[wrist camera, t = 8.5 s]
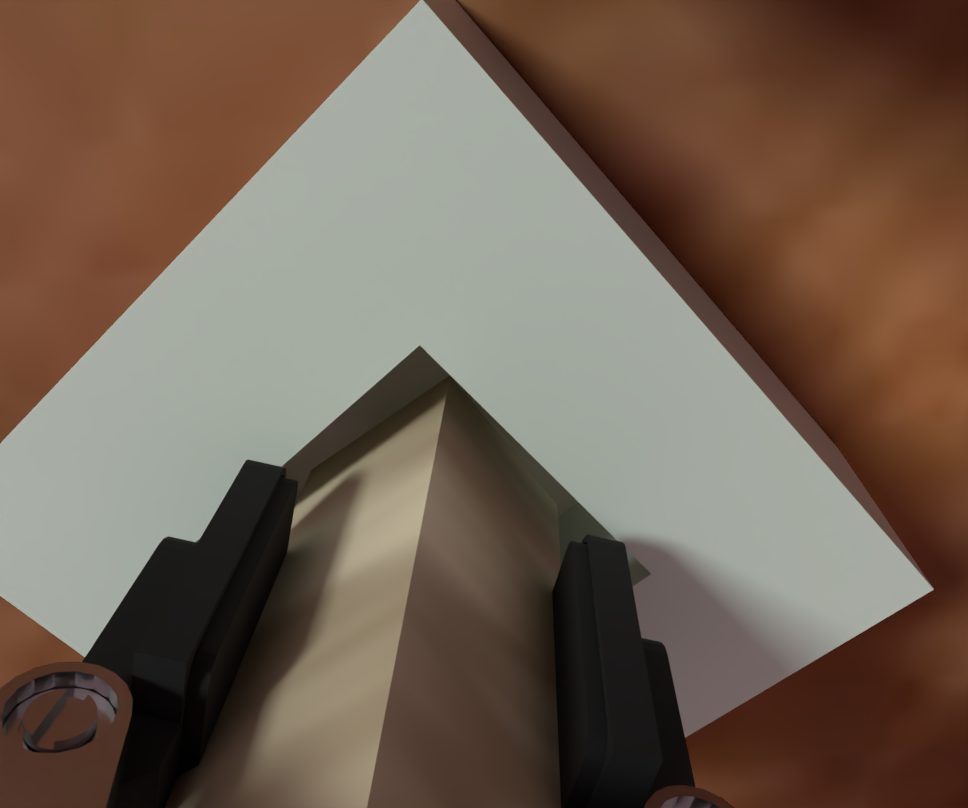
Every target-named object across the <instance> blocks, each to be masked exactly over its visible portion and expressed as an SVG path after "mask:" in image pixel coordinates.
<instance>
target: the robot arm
mask: <svg viewBox="0 0 968 808" xmlns="http://www.w3.org/2000/svg"><path fill="white" fill-rule="evenodd" d="M297 488H298V481H297V480H292V479H288V478H286V468H285V467H280V466H276V465H271V464H267V463H262V462H258V461H253V460H249V459H248V460H246V461H245V463H244V464H243V466H242V468H241V469H240V471H239V473H238V475H237V476H236V478H235V480H234V481H233V483H232V485H231V487H230V488H229V490H228V492H227V493H226V495H225V497H224V499H223V500H222V502H221V504H220V505H219V507H218V509H217V511H216V512H215V514H214V516H213V517H212V519H211V521H210V523H209V524H208V526H207V528H206V530H205V531H204V533H203V535H202V536H201V538H200V540H199V542H198V543H197V542H192V541H188V540H183V539H178V538H174V537H169V536H168V537H165V538H164V539H163V540H162V541H161V542H160V543H159V545H158V546H157V548H156V549H155V551H154V552H153V554H152V555H151V557H150V559H149V560H148V562H147V563H146V565H145V566H144V568H143V569H142V571H141V572H140V574H139V575H138V577H137V578H136V580H135V582H134V583H133V585H132V586H131V588H130V589H129V591H128V592H127V594H126V595H125V597H124V598H123V600H122V602H121V603H120V605H119V606H118V608H117V609H116V611H115V612H114V614H113V615H112V617H111V618H110V620H109V622H108V623H107V625H106V626H105V628H104V629H103V631H102V632H101V634H100V635H99V637H98V638H97V640H96V642H95V643H94V645H93V646H92V648H91V649H90V651H89V652H88V654H87V655H86V657H85V658H84V660H83V661H82V662H56V663H52V664H48V665H44V666H40V667H36V668H33V669H31V670H29V671H27V672H25V673H23V674H21V675H18V676H16V677H15V678H13V679H12V680H11V681H10V682H8V683H7V684H6V685H5V686H3V687H2V688H1V689H0V808H164V807H165V805H166V803H167V800H168V798H169V796H170V793H171V791H172V789H173V787H174V784H175V782H176V780H177V777H179V776H180V775H182V774H184V773H185V772H187V771H189V770H191V769H192V768H194V767H196V766H198V765H199V763H200V760H201V758H202V756H203V753H204V751H205V748H206V746H207V744H208V741H209V739H210V736H211V734H212V732H213V729H214V727H215V724H216V722H217V720H218V717H219V715H220V712H221V710H222V708H223V705H224V703H225V700H226V698H227V696H228V693H229V691H230V688H231V686H232V684H233V681H234V679H235V676H236V674H237V672H238V669H239V667H240V664H241V662H242V660H243V657H244V655H245V652H246V650H247V648H248V645H249V643H250V640H251V638H252V636H253V633H254V631H255V628H256V626H257V624H258V621H259V619H260V616H261V614H262V612H263V609H264V607H265V604H266V602H267V600H268V597H269V595H270V592H271V590H272V588H273V585H274V583H275V580H276V578H277V576H278V573H279V571H280V568H281V566H282V564H283V561H284V559H285V556H286V554H287V550H288V544H289V538H290V532H291V525H292V519H293V513H294V507H295V501H296V495H297ZM552 598H553V623H554V647H555V671H556V696H557V720H558V745H559V769H560V793H561V808H735V807H733V806H732V805H731V804H729V803H728V802H727V801H725V800H724V799H723V798H721V797H719V796H717V795H715V794H713V793H711V792H708V791H706V790H704V789H701V788H696V787H695V783H694V779H693V774H692V769H691V764H690V760H689V755H688V750H687V745H686V740H685V736H684V731H683V726H682V721H681V716H680V712H679V707H678V702H677V697H676V693H675V688H674V683H673V678H672V673H671V669H670V664H669V659H668V654H667V651H666V648H665V646H664V645H663V644H662V643H661V642H659V641H654V640H649V639H645V638H641V632H640V626H639V621H638V615H637V609H636V604H635V598H634V592H633V586H632V581H631V575H630V569H629V563H628V558H627V552H626V547H625V544H624V543H623V542H620V541H615V540H611V539H606V538H602V537H597V536H593V535H588V534H587V535H586V536H585V537H584V539H583V540H582V543H579V542H574V541H571V542H570V543H569V545H568V547H567V549H566V552H565V555H564V558H563V561H562V564H561V567H560V570H559V573H558V576H557V579H556V582H555V585H554V588H553V591H552Z"/></svg>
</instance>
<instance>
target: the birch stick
mask: <svg viewBox="0 0 968 808" xmlns="http://www.w3.org/2000/svg"><path fill="white" fill-rule="evenodd" d="M560 567H561V558H560V541H559V524H558V507H557V504H556V503H555V502H554V500H553V499H552V498H551V497H550V495H549V494H548V493H547V492H546V491H545V489H544V488H543V487H542V486H541V485H540V483H539V482H538V481H537V480H536V479H535V477H534V476H533V475H532V474H531V472H530V471H529V470H528V469H527V468H526V466H525V465H524V464H523V463H522V462H521V460H520V459H519V458H518V457H517V456H516V454H515V453H514V452H513V451H512V449H511V448H510V447H509V446H508V445H507V443H506V442H505V441H504V440H503V439H502V437H501V436H500V435H499V434H498V432H497V431H496V430H495V429H494V428H493V426H492V425H491V424H490V423H489V422H488V420H487V419H486V418H485V417H484V416H483V414H482V413H481V412H480V411H479V409H478V408H477V407H476V406H475V405H474V403H473V402H472V401H471V400H470V399H469V397H468V396H467V395H466V394H465V392H464V391H463V390H462V389H461V388H460V386H459V385H458V384H457V383H456V382H455V380H454V379H453V378H452V377H451V376H448V377H447V378H446V379H444V380H443V381H441V382H440V383H438V384H437V385H435V386H434V387H432V388H431V389H429V390H428V391H426V392H425V393H423V394H422V395H420V396H419V397H418V398H416V399H415V400H413V401H412V402H410V403H409V404H407V405H406V406H404V407H403V408H401V409H400V410H398V411H397V412H395V413H394V414H392V415H391V416H390V417H388V418H387V419H385V420H384V421H382V422H381V423H379V424H378V425H376V426H375V427H373V428H372V429H370V430H369V431H367V432H366V433H365V434H363V435H362V436H360V437H359V438H357V439H356V440H354V441H353V442H351V443H350V444H348V445H347V446H345V447H344V448H342V449H341V450H339V451H338V452H337V453H335V454H334V455H332V456H331V457H329V458H328V459H326V460H325V461H323V462H322V463H320V464H319V465H317V466H316V467H314V468H313V469H312V470H311V472H310V474H309V477H308V479H307V481H306V483H305V486H304V488H303V490H302V493H301V495H300V497H299V499H298V502H297V504H296V506H295V508H294V513H293V519H292V525H291V532H290V538H289V544H288V550H287V554H286V556H285V559H284V561H283V564H282V566H281V568H280V571H279V573H278V576H277V578H276V580H275V583H274V585H273V588H272V590H271V592H270V595H269V597H268V600H267V602H266V604H265V607H264V609H263V612H262V614H261V616H260V619H259V621H258V624H257V626H256V628H255V631H254V633H253V636H252V638H251V640H250V643H249V645H248V648H247V650H246V652H245V655H244V657H243V660H242V662H241V664H240V667H239V669H238V672H237V674H236V676H235V679H234V681H233V684H232V686H231V688H230V691H229V693H228V696H227V698H226V700H225V703H224V705H223V708H222V710H221V712H220V715H219V717H218V720H217V722H216V724H215V727H214V729H213V732H212V734H211V736H210V739H209V741H208V744H207V746H206V748H205V751H204V753H203V756H202V758H201V760H200V763H199V765H198V766H196V767H194V768H192V769H191V770H189V771H187V772H185V773H184V774H182V775H180V776H179V777H177V780H176V782H175V784H174V787H173V789H172V791H171V793H170V796H169V798H168V800H167V803H166V805H165V807H164V808H561V793H560V769H559V745H558V720H557V696H556V671H555V647H554V623H553V598H552V591H553V588H554V585H555V582H556V579H557V576H558V573H559V570H560Z"/></svg>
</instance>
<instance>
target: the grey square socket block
mask: <svg viewBox="0 0 968 808" xmlns="http://www.w3.org/2000/svg"><path fill="white" fill-rule="evenodd" d="M448 376H451V377H452V378H453V379H454V380H455V382H456V383H457V384H458V385H459V386H460V388H461V389H462V390H463V391H464V392H465V394H466V395H467V396H468V397H469V399H470V400H471V401H472V402H473V403H474V405H475V406H476V407H477V408H478V409H479V411H480V412H481V413H482V414H483V416H484V417H485V418H486V419H487V420H488V422H489V423H490V424H491V425H492V426H493V428H494V429H495V430H496V431H497V432H498V434H499V435H500V436H501V437H502V439H503V440H504V441H505V442H506V443H507V445H508V446H509V447H510V448H511V449H512V451H513V452H514V453H515V454H516V456H517V457H518V458H519V459H520V460H521V462H522V463H523V464H524V465H525V466H526V468H527V469H528V470H529V471H530V472H531V474H532V475H533V476H534V477H535V479H536V480H537V481H538V482H539V483H540V485H541V486H542V487H543V488H544V489H545V491H546V492H547V493H548V494H549V495H550V497H551V498H552V499H553V500H554V502H555V503H556V504H557V507H558V524H559V541H560V558H561V564H562V561H563V558H564V555H565V552H566V549H567V547H568V545H569V543H570V542H571V541H574V542H579V543H582V540H583V539H584V537H585V536H586V535H587V534H588V535H593V536H597V537H602V538H606V539H611V540H615V541H620V542H623V543H624V544H625V547H626V552H627V558H628V563H629V569H630V575H631V581H632V586H633V592H634V598H635V604H636V609H637V615H638V621H639V626H640V632H641V638H645V639H649V640H654V641H659V642H661V643H662V644H663V645H664V646H665V648H666V651H667V654H668V659H669V664H670V669H671V673H672V678H673V683H674V688H675V693H676V697H677V702H678V707H679V712H680V716H681V721H682V726H683V731H684V736H685V738H686V737H687V736H689V735H691V734H692V733H694V732H696V731H697V730H699V729H701V728H702V727H704V726H706V725H707V724H709V723H711V722H712V721H714V720H716V719H718V718H719V717H721V716H723V715H724V714H726V713H728V712H729V711H731V710H733V709H734V708H736V707H738V706H739V705H741V704H743V703H744V702H746V701H748V700H749V699H751V698H753V697H754V696H756V695H758V694H759V693H761V692H763V691H764V690H766V689H768V688H770V687H771V686H773V685H775V684H776V683H778V682H780V681H781V680H783V679H785V678H786V677H788V676H790V675H791V674H793V673H795V672H796V671H798V670H800V669H801V668H803V667H805V666H806V665H808V664H810V663H811V662H813V661H815V660H817V659H818V658H820V657H822V656H823V655H825V654H827V653H828V652H830V651H832V650H833V649H835V648H837V647H838V646H840V645H842V644H843V643H845V642H847V641H848V640H850V639H852V638H853V637H855V636H857V635H858V634H860V633H862V632H863V631H865V630H867V629H869V628H870V627H872V626H874V625H875V624H877V623H879V622H880V621H882V620H884V619H885V618H887V617H889V616H890V615H892V614H894V613H895V612H897V611H899V610H900V609H902V608H904V607H905V606H907V605H909V604H910V603H912V602H914V601H916V600H917V599H919V598H921V597H922V596H924V595H926V594H927V593H929V592H931V591H932V590H934V589H933V587H932V586H931V584H930V583H929V581H928V580H927V578H926V577H925V576H924V574H923V573H922V571H921V570H920V568H919V567H918V565H917V564H916V562H915V561H914V559H913V558H912V556H911V555H910V553H909V552H908V551H907V549H906V548H905V546H904V545H903V543H902V542H901V540H900V539H899V537H898V536H897V534H896V533H895V531H894V530H893V529H892V527H891V526H890V524H889V523H888V521H887V520H886V518H885V517H884V515H883V514H882V512H881V511H880V509H879V508H878V507H877V505H876V504H875V502H874V501H873V499H872V498H871V496H870V495H869V493H868V492H867V490H866V489H865V487H864V486H863V484H862V483H861V482H860V480H859V479H858V477H857V476H856V474H855V473H854V471H853V470H852V468H851V467H850V465H849V464H848V462H847V461H846V460H845V458H844V457H843V455H842V454H841V452H840V451H839V449H838V448H837V447H836V445H835V444H834V443H833V442H832V441H831V440H830V438H829V437H828V436H827V435H826V434H825V433H824V431H823V430H822V429H821V428H820V427H819V425H818V424H817V423H816V422H815V421H814V420H813V418H812V417H811V416H810V415H809V414H808V413H807V411H806V410H805V409H804V408H803V407H802V406H801V404H800V403H799V402H798V401H797V400H796V399H795V397H794V396H793V395H792V394H791V393H790V392H789V390H788V389H787V388H786V387H785V386H784V384H783V383H782V382H781V381H780V380H779V379H778V377H777V376H776V375H775V374H774V373H773V372H772V370H771V369H770V368H769V367H768V366H767V365H766V363H765V362H764V361H763V360H762V359H761V358H760V356H759V355H758V354H757V353H756V352H755V351H754V349H753V348H752V347H751V346H750V345H749V343H748V342H747V341H746V340H745V339H744V338H743V336H742V335H741V334H740V333H739V332H738V331H737V329H736V328H735V327H734V326H733V325H732V324H731V322H730V321H729V320H728V319H727V318H726V317H725V315H724V314H723V313H722V312H721V311H720V310H719V308H718V307H717V306H716V305H715V304H714V302H713V301H712V300H711V299H710V298H709V297H708V295H707V294H706V293H705V292H704V291H703V290H702V288H701V287H700V286H699V285H698V284H697V283H696V281H695V280H694V279H693V278H692V277H691V276H690V274H689V273H688V272H687V271H686V270H685V269H684V267H683V266H682V265H681V264H680V263H679V261H678V260H677V259H676V258H675V257H674V256H673V254H672V253H671V252H670V251H669V250H668V249H667V247H666V246H665V245H664V244H663V243H662V242H661V240H660V239H659V238H658V237H657V236H656V235H655V233H654V232H653V231H652V230H651V229H650V228H649V226H648V225H647V224H646V223H645V222H644V220H643V219H642V218H641V217H640V216H639V215H638V213H637V212H636V211H635V210H634V209H633V208H632V206H631V205H630V204H629V203H628V202H627V201H626V199H625V198H624V197H623V196H622V195H621V194H620V192H619V191H618V190H617V189H616V188H615V187H614V185H613V184H612V183H611V182H610V181H609V179H608V178H607V177H606V176H605V175H604V174H603V172H602V171H601V170H600V169H599V168H598V167H597V165H596V164H595V163H594V162H593V161H592V160H591V158H590V157H589V156H588V155H587V154H586V153H585V151H584V150H583V149H582V148H581V147H580V146H579V144H578V143H577V142H576V141H575V140H574V138H573V137H572V136H571V135H570V134H569V133H568V131H567V130H566V129H565V128H564V127H563V126H562V124H561V123H560V122H559V121H558V120H557V119H556V117H555V116H554V115H553V114H552V113H551V112H550V110H549V109H548V108H547V107H546V106H545V105H544V103H543V102H542V101H541V100H540V99H539V97H538V96H537V95H536V94H535V93H534V92H533V90H532V89H531V88H530V87H529V86H528V85H527V83H526V82H525V81H524V80H523V79H522V78H521V76H520V75H519V74H518V73H517V72H516V71H515V69H514V68H513V67H512V66H511V65H510V64H509V62H508V61H507V60H506V59H505V58H504V56H503V55H502V54H501V53H500V52H499V51H498V49H497V48H496V47H495V46H494V45H493V44H492V42H491V41H490V40H489V39H488V38H487V37H486V35H485V34H484V33H483V32H482V31H481V30H480V28H479V27H478V26H477V25H476V24H475V23H474V21H473V20H472V19H471V18H470V17H469V16H468V14H467V13H466V12H465V11H464V10H463V8H462V7H461V6H460V5H459V4H458V3H457V1H456V0H420V1H419V2H418V3H417V4H416V6H415V7H414V8H413V9H412V10H411V11H410V12H409V13H408V14H407V15H406V16H405V17H404V18H403V19H402V20H401V21H400V22H399V23H398V25H397V26H396V27H395V28H394V29H393V30H392V31H391V32H390V33H389V34H388V35H387V36H386V37H385V38H384V39H383V40H382V41H381V42H380V44H379V45H378V46H377V47H376V48H375V49H374V50H373V51H372V52H371V53H370V54H369V55H368V56H367V57H366V58H365V59H364V60H363V61H362V63H361V64H360V65H359V66H358V67H357V68H356V69H355V70H354V71H353V72H352V73H351V74H350V75H349V76H348V77H347V78H346V79H345V80H344V81H343V83H342V84H341V85H340V86H339V87H338V88H337V89H336V90H335V91H334V92H333V93H332V94H331V95H330V96H329V97H328V98H327V99H326V100H325V102H324V103H323V104H322V105H321V106H320V107H319V108H318V109H317V110H316V111H315V112H314V113H313V114H312V115H311V116H310V117H309V118H308V119H307V121H306V122H305V123H304V124H303V125H302V126H301V127H300V128H299V129H298V130H297V131H296V132H295V133H294V134H293V135H292V136H291V137H290V138H289V140H288V141H287V142H286V143H285V144H284V145H283V146H282V147H281V148H280V149H279V150H278V151H277V152H276V153H275V154H274V155H273V156H272V157H271V159H270V160H269V161H268V162H267V163H266V164H265V165H264V166H263V167H262V168H261V169H260V170H259V171H258V172H257V173H256V174H255V175H254V176H253V177H252V179H251V180H250V181H249V182H248V183H247V184H246V185H245V186H244V187H243V188H242V189H241V190H240V191H239V192H238V193H237V194H236V195H235V196H234V198H233V199H232V200H231V201H230V202H229V203H228V204H227V205H226V206H225V207H224V208H223V209H222V210H221V211H220V212H219V213H218V214H217V215H216V217H215V218H214V219H213V220H212V221H211V222H210V223H209V224H208V225H207V226H206V227H205V228H204V229H203V230H202V231H201V232H200V233H199V234H198V236H197V237H196V238H195V239H194V240H193V241H192V242H191V243H190V244H189V245H188V246H187V247H186V248H185V249H184V250H183V251H182V252H181V253H180V255H179V256H178V257H177V258H176V259H175V260H174V261H173V262H172V263H171V264H170V265H169V266H168V267H167V268H166V269H165V270H164V271H163V272H162V273H161V275H160V276H159V277H158V278H157V279H156V280H155V281H154V282H153V283H152V284H151V285H150V286H149V287H148V288H147V289H146V290H145V291H144V292H143V294H142V295H141V296H140V297H139V298H138V299H137V300H136V301H135V302H134V303H133V304H132V305H131V306H130V307H129V308H128V309H127V310H126V311H125V313H124V314H123V315H122V316H121V317H120V318H119V319H118V320H117V321H116V322H115V323H114V324H113V325H112V326H111V327H110V328H109V329H108V330H107V332H106V333H105V334H104V335H103V336H102V337H101V338H100V339H99V340H98V341H97V342H96V343H95V344H94V345H93V346H92V347H91V348H90V349H89V351H88V352H87V353H86V354H85V355H84V356H83V357H82V358H81V359H80V360H79V361H78V362H77V363H76V364H75V365H74V366H73V367H72V368H71V370H70V371H69V372H68V373H67V374H66V375H65V376H64V377H63V378H62V379H61V380H60V381H59V382H58V383H57V384H56V385H55V386H54V387H53V388H52V390H51V391H50V392H49V393H48V394H47V395H46V396H45V397H44V398H43V399H42V400H41V401H40V402H39V403H38V404H37V405H36V406H35V407H34V409H33V410H32V411H31V412H30V413H29V414H28V415H27V416H26V417H25V418H24V419H23V420H22V421H21V422H20V423H19V424H18V425H17V426H16V428H15V429H14V430H13V431H12V432H11V433H10V434H9V435H8V436H7V437H6V438H5V439H4V440H3V441H2V442H1V443H0V596H1V597H3V598H4V599H5V600H7V601H8V602H10V603H11V604H12V605H14V606H15V607H16V608H18V609H19V610H21V611H22V612H23V613H25V614H26V615H27V616H29V617H30V618H32V619H33V620H34V621H36V622H37V623H38V624H40V625H41V626H43V627H44V628H45V629H47V630H48V631H49V632H51V633H52V634H54V635H55V636H56V637H58V638H59V639H60V640H62V641H63V642H65V643H66V644H67V645H69V646H70V647H72V648H73V649H74V650H76V651H77V652H78V653H80V654H81V655H83V656H84V657H86V655H87V654H88V652H89V651H90V649H91V648H92V646H93V645H94V643H95V642H96V640H97V638H98V637H99V635H100V634H101V632H102V631H103V629H104V628H105V626H106V625H107V623H108V622H109V620H110V618H111V617H112V615H113V614H114V612H115V611H116V609H117V608H118V606H119V605H120V603H121V602H122V600H123V598H124V597H125V595H126V594H127V592H128V591H129V589H130V588H131V586H132V585H133V583H134V582H135V580H136V578H137V577H138V575H139V574H140V572H141V571H142V569H143V568H144V566H145V565H146V563H147V562H148V560H149V559H150V557H151V555H152V554H153V552H154V551H155V549H156V548H157V546H158V545H159V543H160V542H161V541H162V540H163V539H164V538H165V537H168V536H169V537H174V538H178V539H183V540H188V541H192V542H197V543H198V542H199V540H200V538H201V536H202V535H203V533H204V531H205V530H206V528H207V526H208V524H209V523H210V521H211V519H212V517H213V516H214V514H215V512H216V511H217V509H218V507H219V505H220V504H221V502H222V500H223V499H224V497H225V495H226V493H227V492H228V490H229V488H230V487H231V485H232V483H233V481H234V480H235V478H236V476H237V475H238V473H239V471H240V469H241V468H242V466H243V464H244V463H245V461H246V460H248V459H249V460H253V461H258V462H262V463H267V464H271V465H276V466H280V467H285V468H286V478H288V479H292V480H297V481H298V488H297V495H296V501H295V506H296V504H297V502H298V499H299V497H300V495H301V493H302V490H303V488H304V486H305V483H306V481H307V479H308V477H309V474H310V472H311V470H312V469H313V468H314V467H316V466H317V465H319V464H320V463H322V462H323V461H325V460H326V459H328V458H329V457H331V456H332V455H334V454H335V453H337V452H338V451H339V450H341V449H342V448H344V447H345V446H347V445H348V444H350V443H351V442H353V441H354V440H356V439H357V438H359V437H360V436H362V435H363V434H365V433H366V432H367V431H369V430H370V429H372V428H373V427H375V426H376V425H378V424H379V423H381V422H382V421H384V420H385V419H387V418H388V417H390V416H391V415H392V414H394V413H395V412H397V411H398V410H400V409H401V408H403V407H404V406H406V405H407V404H409V403H410V402H412V401H413V400H415V399H416V398H418V397H419V396H420V395H422V394H423V393H425V392H426V391H428V390H429V389H431V388H432V387H434V386H435V385H437V384H438V383H440V382H441V381H443V380H444V379H446V378H447V377H448ZM294 508H295V507H294Z"/></svg>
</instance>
